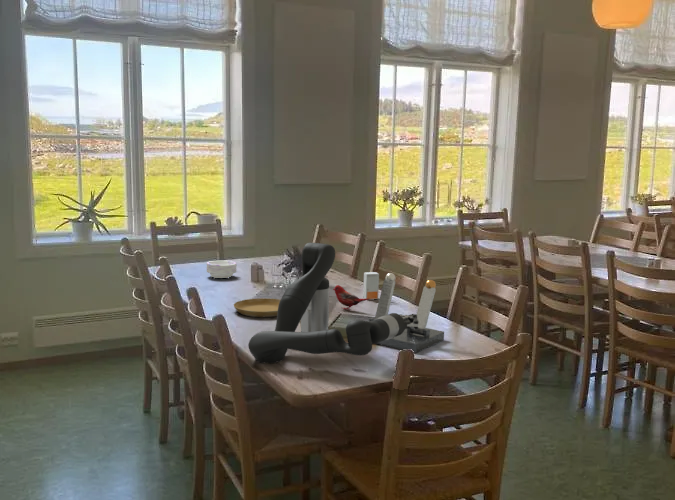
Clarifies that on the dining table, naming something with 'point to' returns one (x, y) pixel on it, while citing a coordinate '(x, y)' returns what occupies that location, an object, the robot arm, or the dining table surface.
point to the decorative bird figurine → (346, 297)
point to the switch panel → (414, 339)
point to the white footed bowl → (221, 268)
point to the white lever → (385, 296)
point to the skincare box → (370, 285)
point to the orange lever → (424, 307)
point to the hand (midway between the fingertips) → (414, 317)
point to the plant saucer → (258, 307)
